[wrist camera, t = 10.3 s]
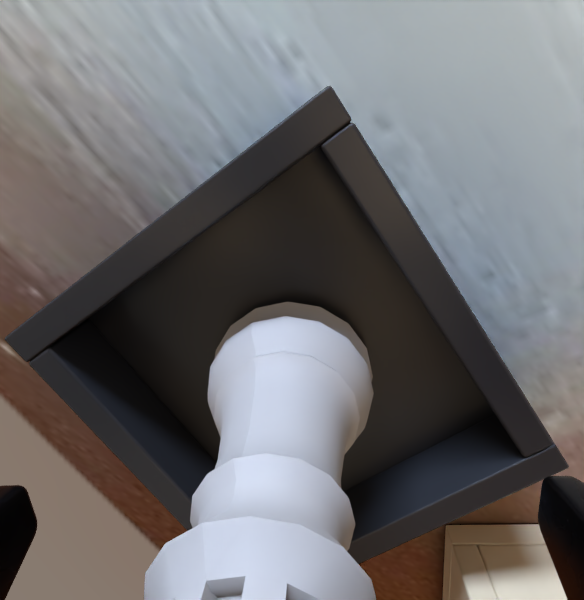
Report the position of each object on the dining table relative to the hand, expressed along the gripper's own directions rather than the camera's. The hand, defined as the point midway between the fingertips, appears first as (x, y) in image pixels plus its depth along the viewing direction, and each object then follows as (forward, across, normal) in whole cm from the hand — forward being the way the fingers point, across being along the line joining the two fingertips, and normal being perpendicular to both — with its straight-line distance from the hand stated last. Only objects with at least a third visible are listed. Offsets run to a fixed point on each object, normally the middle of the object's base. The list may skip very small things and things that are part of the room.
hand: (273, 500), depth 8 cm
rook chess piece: (+6, 0, 0) cm, 6 cm away
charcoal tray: (+6, 0, 0) cm, 6 cm away
